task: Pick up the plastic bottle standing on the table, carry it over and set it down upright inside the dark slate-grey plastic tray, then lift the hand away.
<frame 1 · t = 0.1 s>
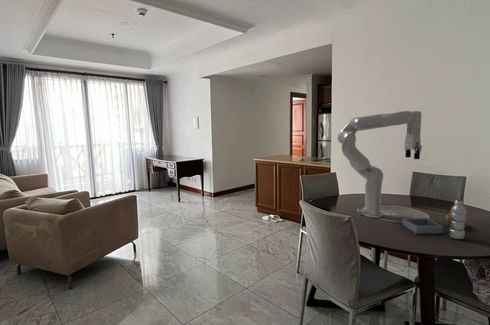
hand: (412, 158, 181), 37 cm above the table, tool pointing down, fingers open, 9 cm apart
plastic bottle: (456, 238, 146), on the table
bread roll: (455, 225, 164), on the table
tray: (421, 229, 159), on the table
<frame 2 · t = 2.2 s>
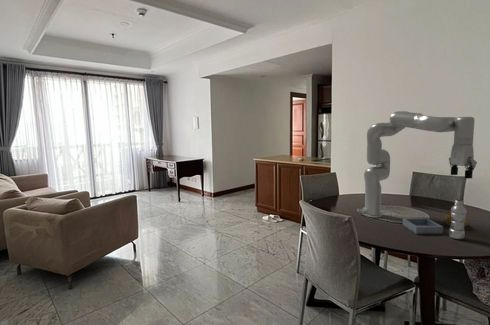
hand: (460, 176, 142), 32 cm above the table, tool pointing down, fingers open, 9 cm apart
nothing on the table moved.
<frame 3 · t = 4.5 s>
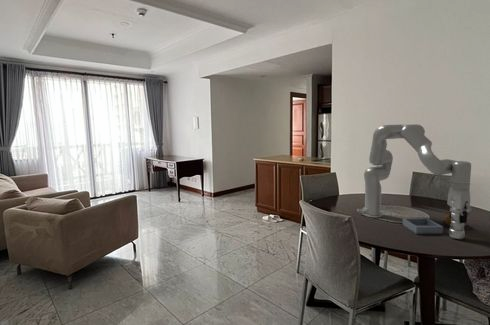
hand: (457, 220, 145), 10 cm above the table, tool pointing down, fingers closed on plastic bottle, 6 cm apart
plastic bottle: (456, 238, 146), on the table, touching gripper
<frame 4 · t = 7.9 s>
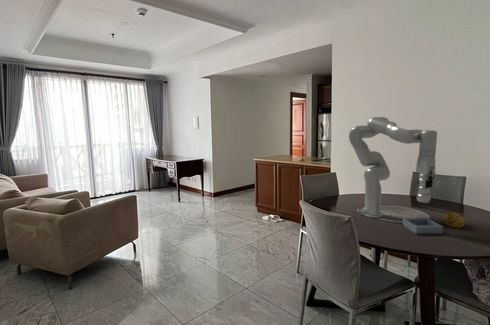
hand: (424, 185, 156), 25 cm above the table, tool pointing down, fingers closed on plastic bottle, 6 cm apart
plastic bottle: (423, 202, 157), point 15 cm above the table, touching gripper
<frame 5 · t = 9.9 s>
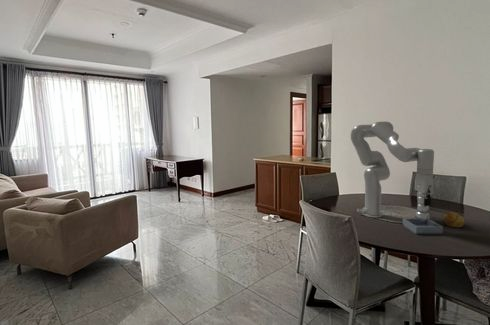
hand: (423, 203, 157), 15 cm above the table, tool pointing down, fingers closed on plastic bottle, 6 cm apart
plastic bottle: (422, 220, 159), point 5 cm above the table, touching gripper
when the fingers open (11 cm above the table, at t = 11.2 s): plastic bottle drops 1 cm, resting on tray.
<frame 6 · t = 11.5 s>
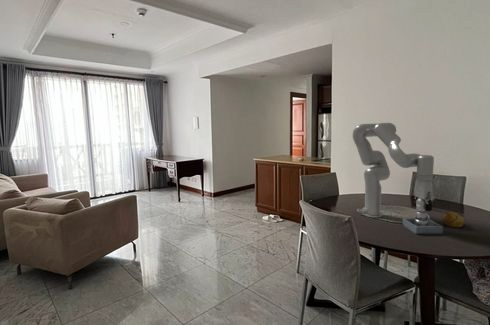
hand: (422, 208, 158), 12 cm above the table, tool pointing down, fingers open, 9 cm apart
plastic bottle: (421, 228, 160), point 1 cm above the table, touching tray
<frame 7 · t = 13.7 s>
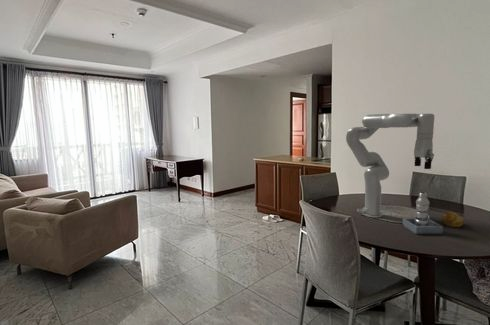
hand: (422, 167, 158), 35 cm above the table, tool pointing down, fingers open, 9 cm apart
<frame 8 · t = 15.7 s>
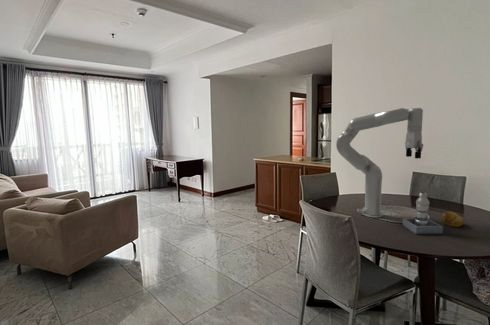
hand: (413, 157, 173), 38 cm above the table, tool pointing down, fingers open, 9 cm apart
at the end: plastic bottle inside the target area on the tray (0.5 cm from its centre), point 0.6 cm above the tray's base; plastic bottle tilted 0°; the gripper is holding nothing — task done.
